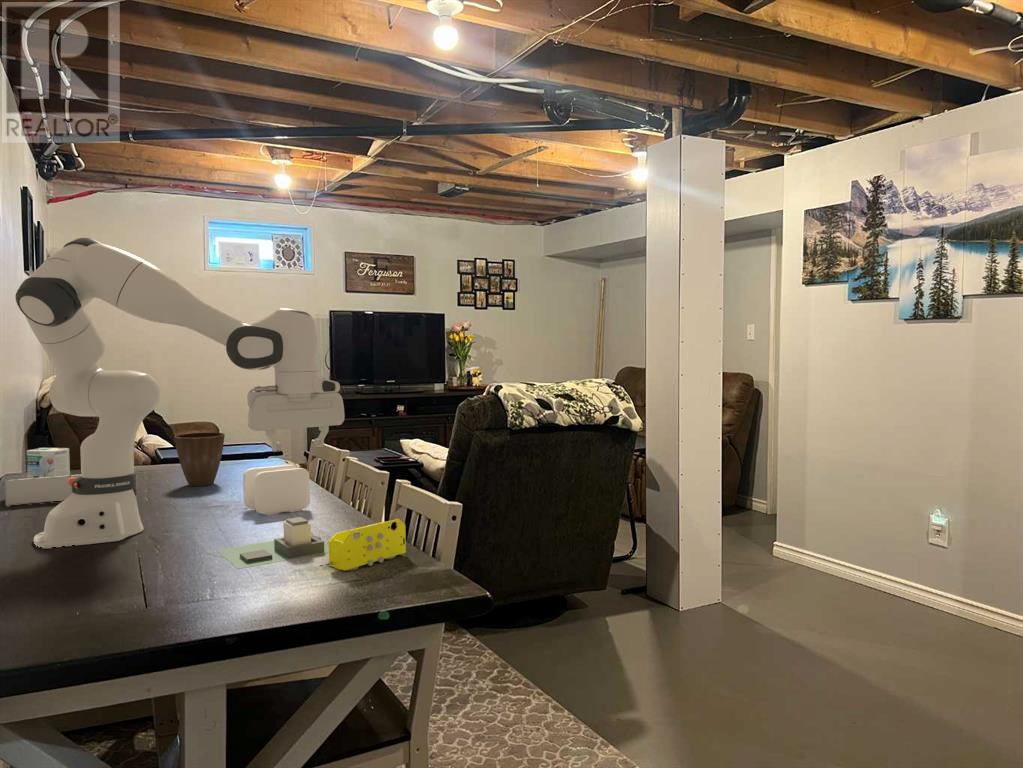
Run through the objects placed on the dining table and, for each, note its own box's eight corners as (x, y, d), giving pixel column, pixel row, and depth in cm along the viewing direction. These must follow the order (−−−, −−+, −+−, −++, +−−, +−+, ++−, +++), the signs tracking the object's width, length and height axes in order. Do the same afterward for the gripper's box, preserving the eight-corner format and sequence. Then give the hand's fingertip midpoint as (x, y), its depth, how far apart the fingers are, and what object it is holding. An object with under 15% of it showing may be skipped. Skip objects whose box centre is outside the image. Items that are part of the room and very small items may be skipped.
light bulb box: (26, 482, 241) (25, 450, 241) (43, 479, 248) (41, 447, 247) (55, 483, 239) (54, 450, 239) (71, 479, 246) (70, 447, 245)
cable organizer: (253, 518, 191) (252, 473, 190) (243, 510, 199) (242, 468, 199) (310, 510, 199) (309, 467, 198) (298, 503, 208) (297, 462, 207)
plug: (292, 555, 151) (291, 523, 151) (284, 549, 155) (283, 519, 155) (313, 551, 154) (312, 520, 154) (304, 546, 158) (304, 515, 158)
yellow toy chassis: (345, 575, 143) (345, 532, 143) (328, 569, 147) (327, 528, 147) (407, 556, 156) (406, 517, 155) (389, 551, 159) (389, 513, 159)
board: (238, 576, 142) (237, 556, 142) (216, 557, 155) (215, 539, 155) (335, 558, 154) (335, 539, 154) (307, 541, 167) (307, 524, 167)
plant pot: (184, 480, 243) (183, 432, 243) (231, 479, 245) (230, 431, 244) (169, 489, 229) (167, 438, 228) (218, 488, 230) (217, 437, 229)
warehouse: (125, 488, 232) (124, 464, 232) (126, 496, 220) (125, 471, 219) (11, 498, 218) (10, 473, 218) (5, 508, 205) (4, 481, 205)
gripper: (252, 387, 148) (253, 455, 149) (346, 383, 160) (348, 446, 161) (242, 386, 153) (244, 451, 154) (335, 382, 165) (336, 443, 166)
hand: (298, 448), depth 158 cm, fingers open, 8 cm apart
